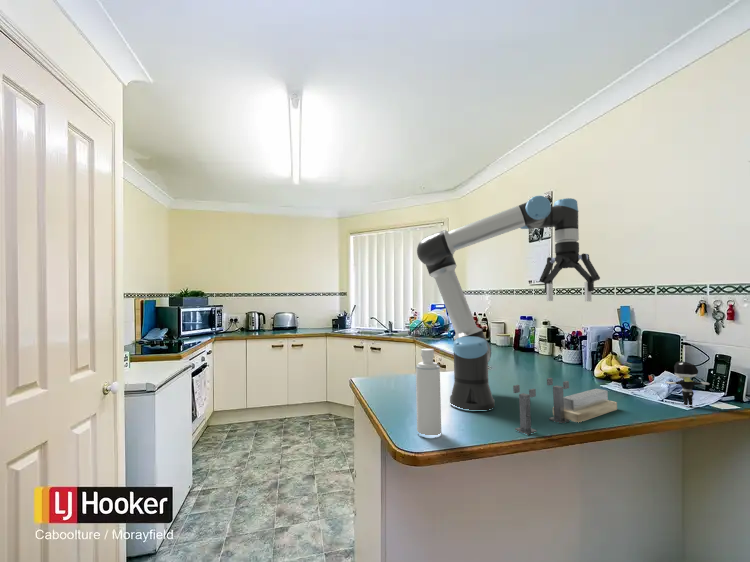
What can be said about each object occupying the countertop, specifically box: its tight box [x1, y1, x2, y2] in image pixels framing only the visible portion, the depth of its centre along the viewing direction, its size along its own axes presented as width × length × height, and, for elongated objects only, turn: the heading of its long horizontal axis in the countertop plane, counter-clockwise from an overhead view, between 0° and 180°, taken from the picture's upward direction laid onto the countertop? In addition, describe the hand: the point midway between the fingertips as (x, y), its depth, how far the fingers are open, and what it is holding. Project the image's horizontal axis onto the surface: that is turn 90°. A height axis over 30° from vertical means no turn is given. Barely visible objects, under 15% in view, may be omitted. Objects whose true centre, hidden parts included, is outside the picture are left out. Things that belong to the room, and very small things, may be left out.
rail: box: [564, 388, 609, 412], centre depth 110 cm, size 4×20×4 cm, turn 120°
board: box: [552, 399, 618, 424], centre depth 110 cm, size 8×23×2 cm, turn 120°
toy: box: [664, 360, 710, 406], centre depth 115 cm, size 13×6×15 cm, turn 84°
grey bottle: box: [415, 348, 442, 435], centre depth 95 cm, size 7×7×25 cm
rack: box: [512, 377, 570, 436], centre depth 99 cm, size 6×20×12 cm, turn 120°
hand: (568, 301), depth 121 cm, fingers open, 13 cm apart
